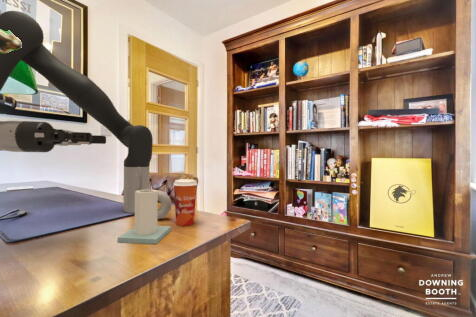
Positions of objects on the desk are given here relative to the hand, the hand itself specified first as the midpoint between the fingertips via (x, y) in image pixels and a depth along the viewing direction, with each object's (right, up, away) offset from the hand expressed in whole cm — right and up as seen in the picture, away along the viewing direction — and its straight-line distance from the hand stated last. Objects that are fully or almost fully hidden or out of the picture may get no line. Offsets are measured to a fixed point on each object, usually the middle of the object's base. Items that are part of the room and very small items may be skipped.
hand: (99, 138), depth 57 cm
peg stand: (+11, -26, +3) cm, 29 cm away
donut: (+8, -26, +18) cm, 33 cm away
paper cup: (+19, -26, +15) cm, 35 cm away
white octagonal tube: (+11, -25, +3) cm, 27 cm away
